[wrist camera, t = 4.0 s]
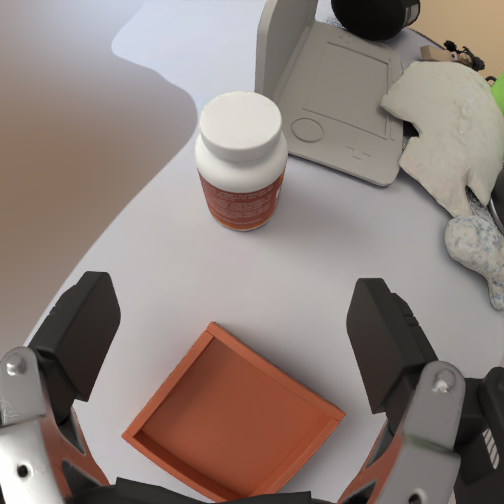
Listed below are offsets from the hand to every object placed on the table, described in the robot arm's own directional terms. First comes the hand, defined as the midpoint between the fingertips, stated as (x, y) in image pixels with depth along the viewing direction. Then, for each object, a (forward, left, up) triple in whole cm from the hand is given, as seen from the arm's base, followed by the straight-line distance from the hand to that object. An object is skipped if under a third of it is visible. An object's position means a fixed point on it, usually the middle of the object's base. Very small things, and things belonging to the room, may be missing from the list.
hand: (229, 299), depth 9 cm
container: (-40, -10, -8) cm, 42 cm away
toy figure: (-46, 0, -10) cm, 47 cm away
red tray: (+8, +5, -14) cm, 17 cm away
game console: (-29, -6, -14) cm, 33 cm away
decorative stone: (-18, +18, -14) cm, 30 cm away
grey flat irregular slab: (-20, +8, -12) cm, 25 cm away
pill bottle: (-8, -6, -15) cm, 18 cm away
